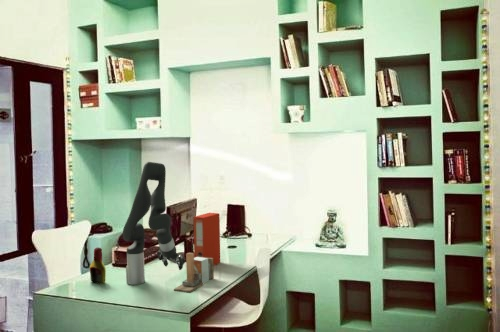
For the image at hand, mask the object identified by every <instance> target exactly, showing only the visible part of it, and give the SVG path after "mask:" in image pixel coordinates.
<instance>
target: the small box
mask: <svg viewBox="0 0 500 332" xmlns="http://www.w3.org/2000/svg"><path fill="white" fill-rule="evenodd" d="M194 272H197V273H201V283H203V284H205V283H208V282H209V281H210V279H209V268H208V258H202V257H195V258H194Z"/></svg>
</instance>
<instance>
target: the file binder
mask: <svg viewBox="0 0 500 332" xmlns="http://www.w3.org/2000/svg"><path fill="white" fill-rule="evenodd" d="M220 218H221V217H220V213H218V212H206V213H202V214H199V215H196V216H193V253H194V258H195V257H207V258H213V267H214V266H216V265H218V264H220V263H221V233H220V232H221V227H220Z"/></svg>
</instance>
